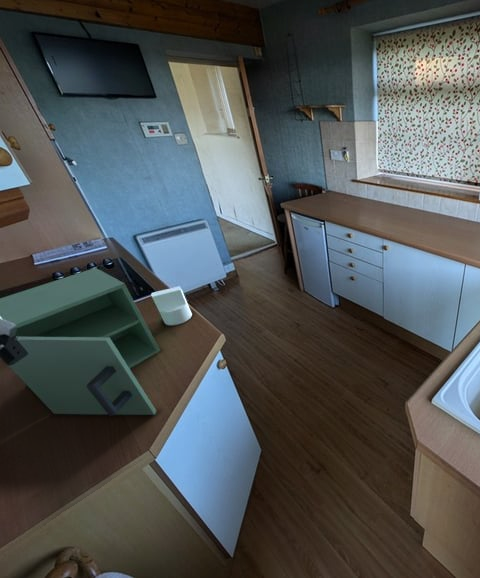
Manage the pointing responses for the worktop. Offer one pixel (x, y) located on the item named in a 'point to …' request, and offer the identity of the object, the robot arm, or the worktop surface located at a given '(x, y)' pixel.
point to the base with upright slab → (172, 305)
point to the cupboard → (82, 313)
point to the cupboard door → (81, 376)
